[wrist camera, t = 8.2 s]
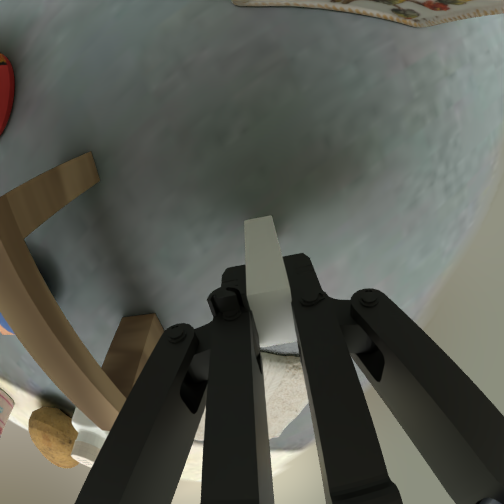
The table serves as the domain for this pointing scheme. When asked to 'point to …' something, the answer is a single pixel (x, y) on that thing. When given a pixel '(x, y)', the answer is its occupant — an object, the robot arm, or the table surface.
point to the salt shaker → (87, 439)
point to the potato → (53, 435)
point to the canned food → (6, 91)
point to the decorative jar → (398, 8)
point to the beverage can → (4, 409)
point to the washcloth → (278, 393)
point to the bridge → (49, 313)
